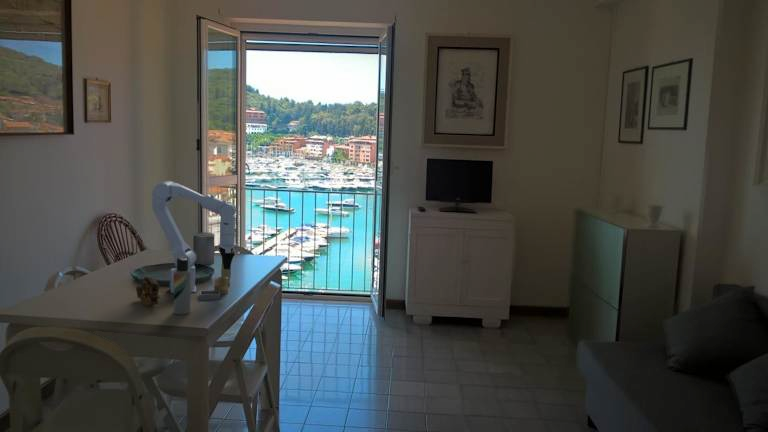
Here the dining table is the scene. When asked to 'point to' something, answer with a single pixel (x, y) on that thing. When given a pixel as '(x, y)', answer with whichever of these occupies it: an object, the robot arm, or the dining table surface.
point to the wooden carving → (148, 291)
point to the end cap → (210, 295)
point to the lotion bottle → (182, 287)
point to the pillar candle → (204, 248)
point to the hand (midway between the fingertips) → (226, 266)
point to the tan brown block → (221, 284)
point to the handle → (226, 271)
